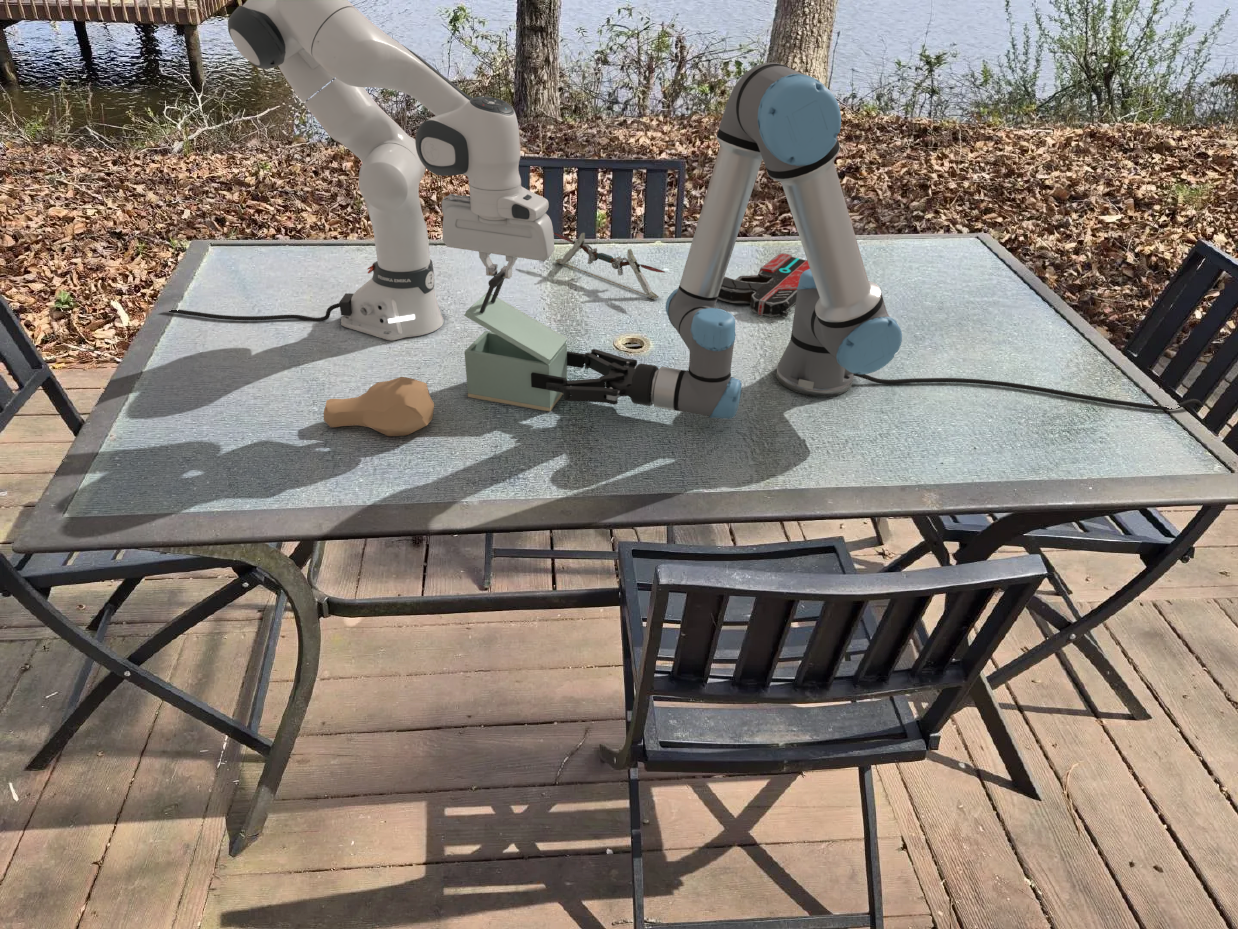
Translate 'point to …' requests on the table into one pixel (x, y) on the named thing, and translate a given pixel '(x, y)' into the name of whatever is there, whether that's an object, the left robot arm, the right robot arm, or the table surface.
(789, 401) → the table surface
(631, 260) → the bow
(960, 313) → the table surface
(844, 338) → the right robot arm
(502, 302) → the lid
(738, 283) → the gun
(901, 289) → the table surface
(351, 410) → the squash
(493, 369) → the chest
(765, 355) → the table surface
